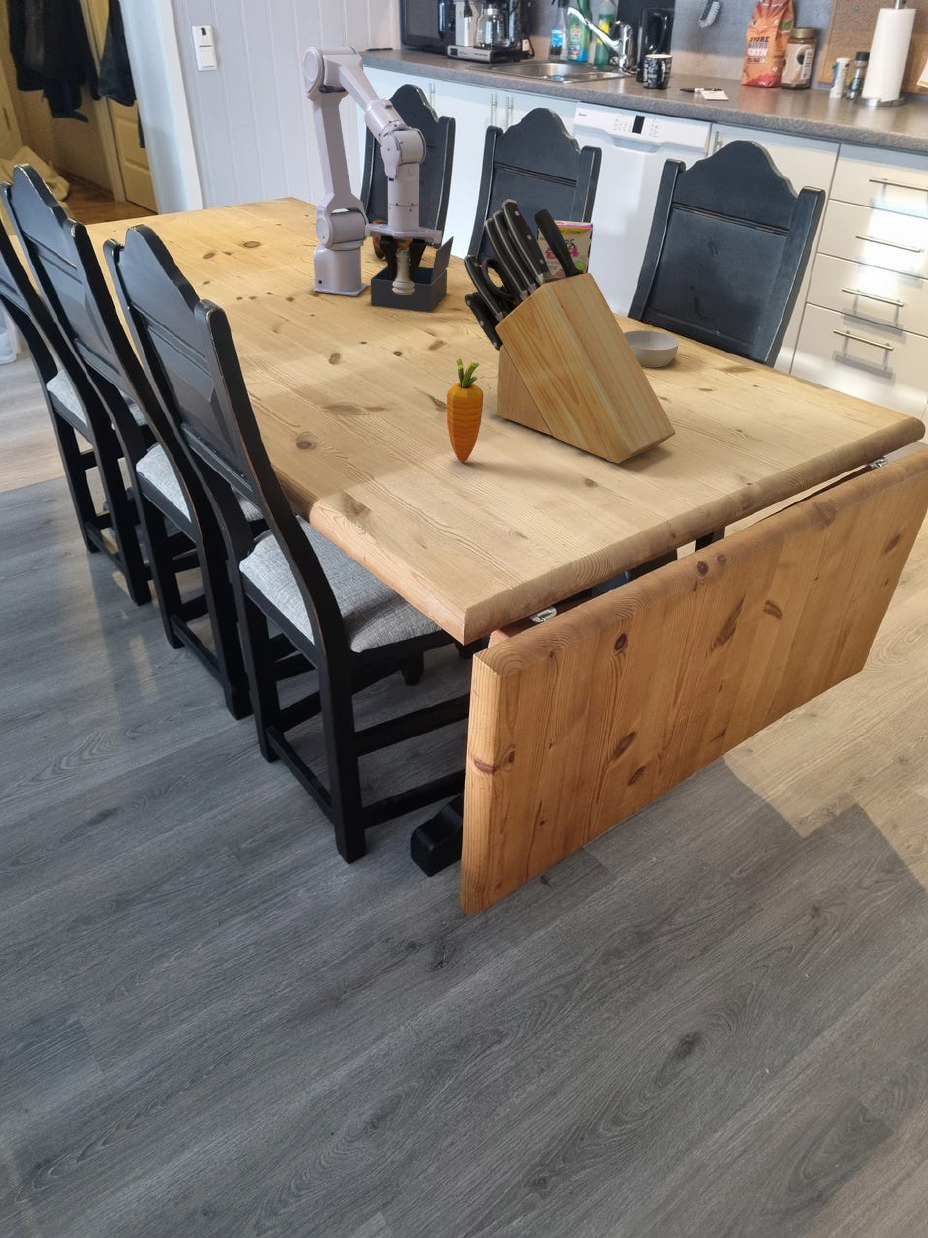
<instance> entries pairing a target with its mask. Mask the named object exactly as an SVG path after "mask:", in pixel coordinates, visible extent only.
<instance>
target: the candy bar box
mask: <svg viewBox="0 0 928 1238" xmlns="http://www.w3.org/2000/svg"><path fill="white" fill-rule="evenodd" d="M553 220H554V221H555V223H556V225H557V226H558V228H559V230H560V232H561V234H562V236H563V238H564V240H565V242H566V244H567V247H568V249H569V252H570V255H571V257H572V260H573V262H574V264H575V266H576V268H578V269H579V270H582V271H583V272H584V274H585V273H589V265H590V258H591V249H592V242H593V234H594V233H593V232H594V223H592V222H582V221H570V220H569V221H568V220H559V219H558V220H557V219H553ZM536 229H537V230H536V237H535V238H536V240H537V242H538V244H539V247H540V249H541V251H542V253H543V256H544V258H545V261H546V263H547V266H548V268H549V270H550V272H551V273H552V274H553V275H554V276H558V277H562V279H565V278H566V277H565V272H564V271H563V268H562V266H561V265H560V263H559V261H558V260H557V258H556V257H555V255H554V254H553V252H552V251H551V249H550V247H549V245H548V244H547V242H546V240H545V238H544V236H543V235H542V233H541V231H540V229H539V228H538V227H536Z"/></svg>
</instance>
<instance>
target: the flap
mask: <svg viewBox="0 0 928 1238" xmlns="http://www.w3.org/2000/svg"><path fill="white" fill-rule="evenodd" d="M454 237H455V236H453V235H452V236H451V237H450V238H449V239H448V240H447V241H446V242H444V243H443V244H442V245H441V246H440V247H439V248H438V249H436V250H435V256H434V261H433V267H432V268H433V272H432V277H431V282H433V281H434V280H435V279H436V278H437V277H438V276H439V275H440V274H441V273H442V272H443V271H444V270H445V269H447V268H448V267H449V264H450V260H451V259H450V258H451V253H452V248H453V243H454Z"/></svg>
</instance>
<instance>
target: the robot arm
mask: <svg viewBox="0 0 928 1238" xmlns="http://www.w3.org/2000/svg"><path fill="white" fill-rule="evenodd" d="M301 70H302V76H303V83H304V88H305V94H306V98H307V99H308V100H309V101H310V104H311V110H312V116H313V123H314V130H315V136H316V141H317V149H318V155H319V162H320V168H321V169H320V170H321V174H322V181H323V188H324V194H325V195H324V197H323V198H322V200H320V202H319V203H318V204H317V205H316V207H315V208H314V210H315V211H314V212H315V225H314V226H315V234H316V237H317V239H318V241H319V244H317V245H316V246H315V248H314V252H313V273H314V274H313V275H314V288H313V292H316V293H325V294H332V295H333V294H334V295H343V296H350V297H351V296H352V297H357V296H358V295H360V294H361V293H362V292H363V291H364V290H366V289H367V288H368V287H369V284H368V283H362V251H361V250H362V248H361V247H363V246H365V245H364V242H365V241H366V240H367V239H368V238H372V236H376V237H380V241H379V246H380V248H381V250H382V252H383V254H384V256H385V257H384V258H385V261H386V264H387V265H388V268H389V272H390V278H391V279H394V278H396V274H397V263H396V262H397V257H396V255H395V254H396V252H397V247H398V239H406V240H413V242H411V243H410V244H409V252H410V281H414V280H416V279H417V272H418V268H419V267H420V265H421V261H422V258H423V255H424V252H425V250H426V249H427V246H428V244H429V243H433V244H437V245H439V244H441V243H442V240H443V231H442V230H437V229H433V228H427V227H422V226H420V225H419V224H420V222H419V221H420V220H419V219H420V218H419V216H420V214H419V213H420V165H422V163H423V162H424V161H425V159H426V154H427V144H426V140H425V137H424V135H423V134H422V133H423V132H421V130H420V129H418V128H413V127H412V126H408V125H407V123H406V122H405V121H404V119H403V118H402V117H401V116H400V114H399V113H398V111H397V110H396V109H395V107H394V106H393V103H392V102H391V100H390V99H389V100H388V99H387V98H386V99H385V98H380V97H379V95H378V93H377V92H376V90H375V89H374V86H373V85H372V84H371V82H370V80H369V79H368V77H367V75H366V73H365V72H364V60H363V57H362V56H361V55H360V53H359V51H358V49H357V48H356V47H354V46H353V45H347V46H327V47H326V46H325V47H324V46H321V47H318V46H317V47H316V46H309V47H308V48H307V49H306V51H305V53H304V56H303V59H302V62H301ZM348 95H350V97H351V98H352V99H353V100H354V101H355V102H356V103H357V105H358V106H359V108H361V110H363V112H364V114H363V120H364V124H365V125H366V126H367V128H368V129H369V130H370V132H371V134H372V135H373V136H374V138H375V139H376V141H377V142H378V144H379V145H380V147H379V148H380V155H381V158H382V161H383V165H384V173H385V176H386V177H387V224H386V223H385V224H371V223H369V219H368V217H367V215H366V212H365V208H364V202H363V201H361V200H360V199H359V198H358V197H357V196H356V195H354V194H353V193H352V188H351V182H350V175H349V169H348V160H347V155H346V148H345V147H346V146H345V141H344V134H343V126H342V120H341V112H340V104H341V103H342V99H345V98H346V97H348ZM343 209H344V210H345V211H343ZM336 210H342V211H336ZM335 211H336V212H335ZM387 265H386V266H387Z"/></svg>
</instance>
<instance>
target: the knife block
mask: <svg viewBox="0 0 928 1238" xmlns="http://www.w3.org/2000/svg"><path fill="white" fill-rule="evenodd" d="M518 206H519V205H518V202H517V201H516V200H515V199H510V198H509V199H505V200H504V201H503V202H502V204H501V210H497V211H495V212H494V213H493V215H492V217H490V218H488V219H486V220H485V222H484V231H485V234H486V237H487V240H488V242H489V245H490V246H491V249H492V252H493V253H494V256H495V258H496V259H495V258H493V257H487V258H485V259H484V260H483V261H482V263H481V264H479V261H478V259H477V257H476V255H474V254H467V255H466V256H464V258H463V264H464V268H465V270H466V272H467V275H468V277H469V278H470V280H471V283H472V284H473V286H474V287H475V289H476V291H474V292H472V293H467V294H465V295H464V302H465V305H466V306H467V308H469V309H470V311H471V312H472V314H473V316H474V317H475V319H476V321H477V323H478V325H479V326H480V328H481V330H482V331H483V333H484V334H485V335H486V337H487V338H488V340H489V341H490V344H492V346H493V348H494V349H495V350H496V351H497V352H498V365H497V386H496V387H497V389H496V415H497V416H500V417H502V418H503V419H505V420H510V421H513V422H514V423H518V424H520V425H523V426H525V427H528V428H531V429H532V430H536V431H538V432H541V433H543V434H547V435H549V436H552V437H554V438H556V439H557V440H559V441H561V442H565V443H567V444H569V445H571V446H574V447H576V448H579V449H581V450H584V451H586V452H589V453H591V454H593V455H596V456H598V457H601V458H603V459H605V460H606V461H608V462H610V463H616V464H620V463H622V462H624V461H626V460H628V459H630V458H632V457H635V456H638V455H639V454H641V453H644V452H646V451H648V450H650V449H653V448H655V447H656V446H658V445H660V444H662V443H664V442H666V441H667V440H669V439H670V438H672V437H674V436H675V435H676V430H675V428H674V426H673V424H672V423H671V421H670V420H669V418H668V416H667V413H666V411H665V410H664V408H663V406H662V404H661V402H660V400H659V398H658V396H657V394H656V392H655V391H654V389H653V386H652V384H651V383H650V381H649V379H648V377H647V375H646V373H645V371H644V370H643V368H642V366H640V364H639V362H638V360H637V358H636V356H635V354H634V352H633V351H632V349H631V347H630V345H629V343H628V341H627V339H626V337H625V335H624V334H623V333H624V332H623V330H622V328H621V326H620V324H619V322H618V321H617V318H616V317H615V315H614V313H613V311H612V309H611V306H609V304H608V301H607V300H606V298H605V297H604V294H603V292H602V291H601V289H600V287H599V285H598V283H597V282H596V280H595V278H594V276H593V274H592V273H591V272H588V273H585V274H584V272H583V271H582V270H579V269H578V268H576V266H575V264H574V262H573V260H572V257H571V255H570V252H569V249H568V247H567V244H566V242H565V240H564V238H563V236H562V234H561V232H560V230H559V228H558V226H557V225H556V223H555V221H554V220H555V219H554V218H553V216H552V214H551V213H550V211H549V210H548V209H547V208H542V209H540V210H538V211H536V213H535V214H534V215H533V220H534V222H535V224H536V227H537V228H539V229H540V231H541V233H542V235H543V236H544V238H545V240H546V242H547V244H548V245H549V247H550V249H551V251H552V252H553V254H554V255H555V257H556V258H557V260H558V261H559V263H560V265H561V266H562V268H563V271H564V272H565V277H566V278H565V279H562V277H558V276H554V275H553V274H552V273H551V272H550V270H549V268H548V266H547V263H546V261H545V258H544V256H543V253H542V251H541V249H540V247H539V244H538V242H537V240H536V238H537V237H535V235H534V233H533V231H532V229H531V228H530V226H529V224H528V222H527V220H525V218H524V216H523V215H522V213H521V210H520V209H519V207H518ZM489 267H491V268H492V269H493V270H494V272H495V273H496V274H497V275H498V277H499V280H500V281H501V283H502V285H500V286H497V285H496V284H495V283H494V282H493V280H492V278H491V277H490V274H489Z"/></svg>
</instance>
